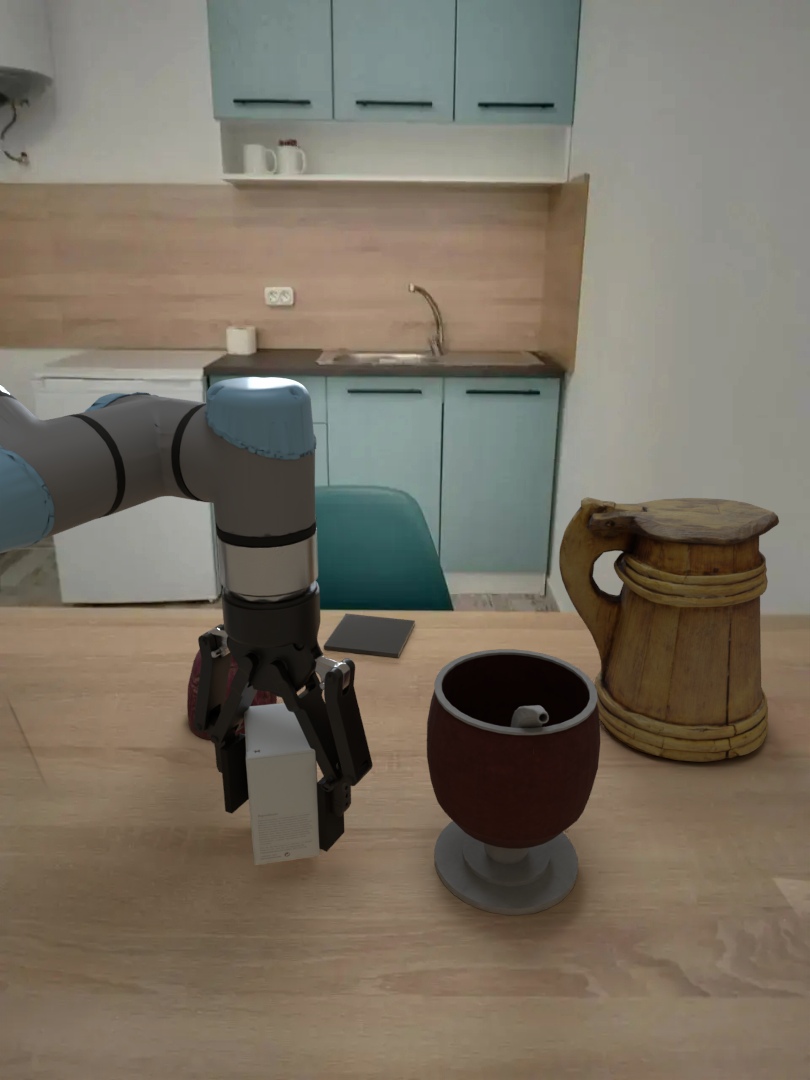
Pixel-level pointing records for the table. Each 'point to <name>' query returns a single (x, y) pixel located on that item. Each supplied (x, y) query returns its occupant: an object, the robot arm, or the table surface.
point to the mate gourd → (511, 775)
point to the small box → (280, 786)
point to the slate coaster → (370, 635)
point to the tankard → (675, 622)
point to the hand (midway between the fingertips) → (283, 821)
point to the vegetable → (258, 700)
